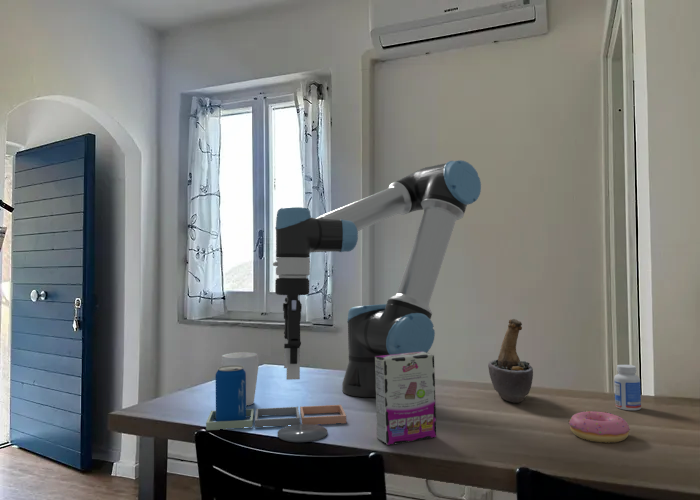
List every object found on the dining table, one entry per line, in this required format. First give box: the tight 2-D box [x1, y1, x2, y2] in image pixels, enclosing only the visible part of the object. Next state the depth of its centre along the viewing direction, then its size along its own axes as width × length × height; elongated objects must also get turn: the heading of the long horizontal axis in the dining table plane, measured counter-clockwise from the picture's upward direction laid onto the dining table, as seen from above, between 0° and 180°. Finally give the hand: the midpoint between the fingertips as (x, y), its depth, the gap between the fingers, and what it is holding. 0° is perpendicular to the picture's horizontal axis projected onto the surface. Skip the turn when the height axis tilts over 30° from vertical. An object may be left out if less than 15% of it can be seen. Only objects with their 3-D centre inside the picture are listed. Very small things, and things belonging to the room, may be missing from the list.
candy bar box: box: [375, 352, 437, 446], centre depth 110 cm, size 11×5×16 cm, turn 114°
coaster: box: [277, 423, 328, 443], centre depth 113 cm, size 10×10×1 cm
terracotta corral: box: [299, 404, 347, 425], centre depth 125 cm, size 10×10×2 cm
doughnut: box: [568, 410, 631, 444], centre depth 110 cm, size 11×11×4 cm
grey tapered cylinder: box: [221, 351, 259, 407], centre depth 139 cm, size 9×9×12 cm
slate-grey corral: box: [254, 406, 301, 428], centre depth 123 cm, size 10×10×2 cm
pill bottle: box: [613, 364, 642, 411], centre depth 130 cm, size 6×5×10 cm
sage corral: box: [205, 408, 255, 431], centre depth 122 cm, size 10×10×2 cm
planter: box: [488, 318, 534, 404], centre depth 140 cm, size 15×17×20 cm
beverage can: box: [215, 365, 247, 422], centre depth 122 cm, size 6×6×12 cm
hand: (291, 373), depth 124 cm, fingers open, 13 cm apart
